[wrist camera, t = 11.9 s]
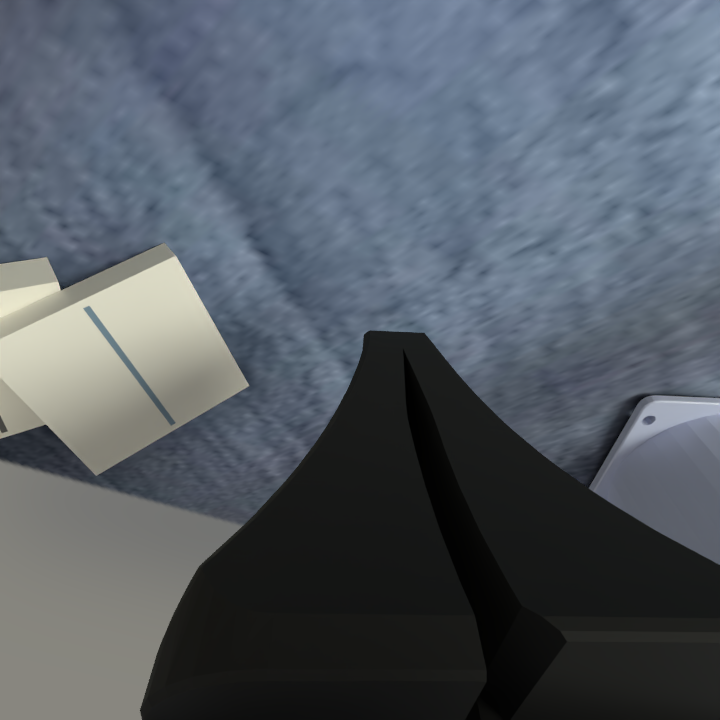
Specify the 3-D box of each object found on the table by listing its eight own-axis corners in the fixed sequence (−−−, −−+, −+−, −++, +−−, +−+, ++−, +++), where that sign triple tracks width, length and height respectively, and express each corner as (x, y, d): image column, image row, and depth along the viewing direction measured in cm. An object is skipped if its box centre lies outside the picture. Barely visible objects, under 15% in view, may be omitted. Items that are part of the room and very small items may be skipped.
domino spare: (249, 385, 15) (96, 475, 14) (233, 364, 17) (93, 444, 15) (175, 255, 12) (-25, 351, 11) (164, 242, 14) (-17, 325, 12)
